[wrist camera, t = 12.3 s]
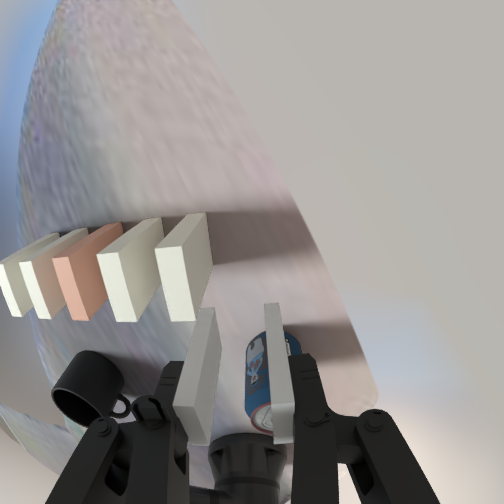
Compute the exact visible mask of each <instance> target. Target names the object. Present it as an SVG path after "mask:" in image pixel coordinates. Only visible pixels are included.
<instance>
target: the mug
mask: <svg viewBox="0 0 504 504" xmlns="http://www.w3.org/2000/svg"><path fill="white" fill-rule="evenodd" d="M123 387H124V381H123V377H122V375H121V373H120V371H119V370H118V369H117V367H116V366H115V365H114V364H113V363H112V362H110V361H109V360H108V359H106V358H105V357H103V356H101V355H99V354H97V353H94V352H90V351H82V352H79V353H78V354H76V356H75V357H74V358H73V360H72V361H71V363H70V364H69V365H68V367H67V368H66V370H65V371H64V373H63V374H62V376H61V377H60V379H59V380H58V382H57V383H56V385H55V386H54V388H53V389H52V392H51V396H52V399H53V401H54V403H55V404H56V406H57V407H58V408H59V409H60V411H61V412H62V413H63V414H65V415H66V416H67V417H68V418H70V419H71V420H72V421H74V422H76V423H77V424H79V425H81V426H83V427H86V428H88V427H89V426H90V424H91V423H92V422H93V421H94V420H96V419H97V418H100V417H104V416H105V417H114V418H118V419H120V418H125V417H127V416H128V415H129V413H130V412H131V410H130V406H131V404H130V402H129V400H128V399H127V398H126V397H124V396H123V395H122V394H120V393H121V391H122V389H123ZM117 400H121V401H123V402H124V404H125V405H126V410H125V411H124V412H123V413H115V412H113V409H114V407H115V405H116V402H117Z"/></svg>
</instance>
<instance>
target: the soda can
mask: <svg viewBox="0 0 504 504" xmlns="http://www.w3.org/2000/svg"><path fill="white" fill-rule="evenodd" d="M284 337H285V344H286V350H287V356H289V355H298V354H302V351H301V346H300V344H299V342H298V341H297V339H296V338H295V337H293V336H292V335H290V334H288V333H286V332H284ZM245 411H246V413H247V415H248V416H249V418H250V419H251V424H252V425H253V426H254V427H255V428H256V429H257V430H259V431H261V432H264V433H269V434H273V424H272V409H271V395H270V381H269V367H268V353H267V339H266V331H265V332H262V333H260V334H259V335H257V336H256V337H255V338H254V339H253V340H252V341H251V342H250V343H249V345H248V347H247V349H246V373H245Z"/></svg>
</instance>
